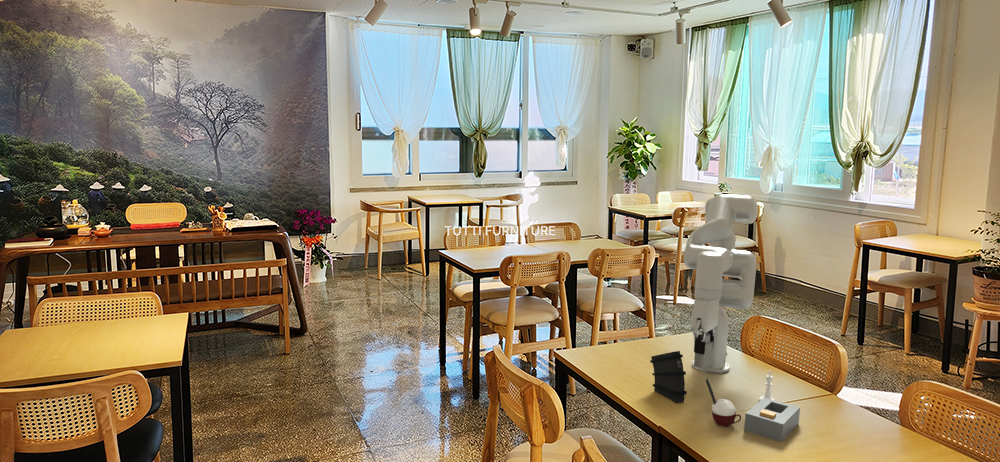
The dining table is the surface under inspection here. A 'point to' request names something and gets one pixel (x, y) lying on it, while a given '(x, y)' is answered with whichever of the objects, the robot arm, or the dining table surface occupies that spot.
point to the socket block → (772, 419)
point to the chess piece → (768, 387)
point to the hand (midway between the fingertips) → (703, 349)
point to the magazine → (669, 376)
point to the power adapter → (704, 359)
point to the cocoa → (722, 410)
